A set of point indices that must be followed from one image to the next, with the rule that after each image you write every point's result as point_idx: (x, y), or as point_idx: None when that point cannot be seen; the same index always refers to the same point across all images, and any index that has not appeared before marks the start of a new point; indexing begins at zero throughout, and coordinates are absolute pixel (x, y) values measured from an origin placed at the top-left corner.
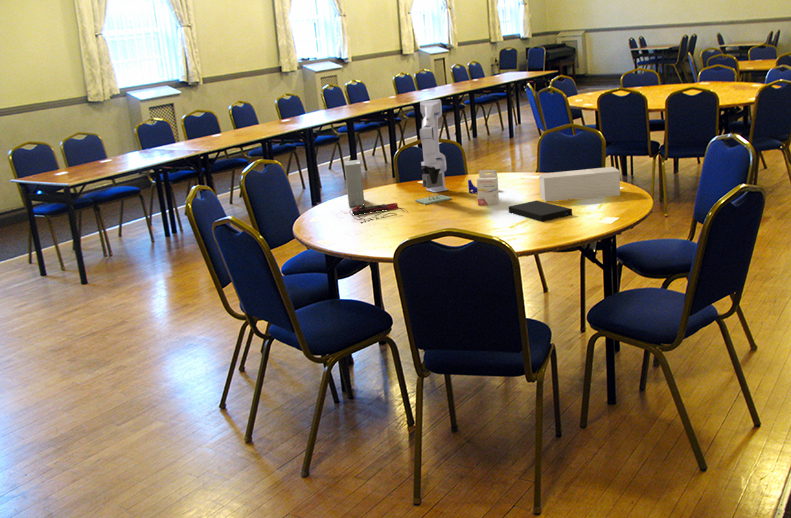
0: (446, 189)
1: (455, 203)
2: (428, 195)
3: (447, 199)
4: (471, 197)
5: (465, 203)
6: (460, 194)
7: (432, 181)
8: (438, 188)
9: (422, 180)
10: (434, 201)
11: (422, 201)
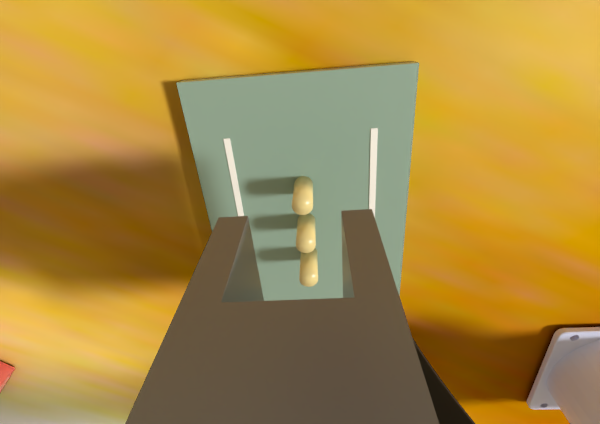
0: (532, 397)
1: (88, 279)
2: (297, 195)
3: None
4: None
5: (52, 316)
6: None
7: None
8: (571, 375)
9: (391, 280)
10: (201, 187)
11: (277, 97)
